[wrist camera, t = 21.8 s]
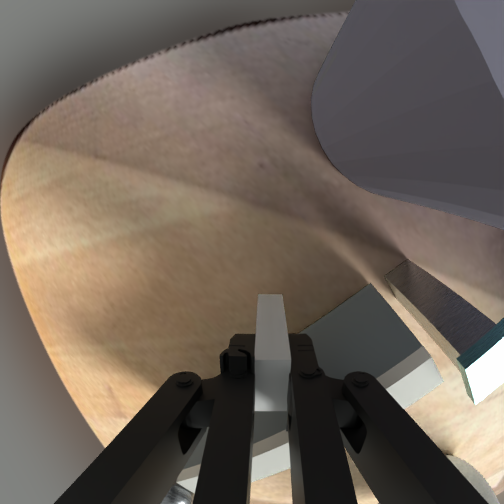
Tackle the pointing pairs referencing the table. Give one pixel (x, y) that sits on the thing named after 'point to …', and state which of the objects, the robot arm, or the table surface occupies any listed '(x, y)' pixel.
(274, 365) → the robot arm
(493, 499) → the mug
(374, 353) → the grey flat board
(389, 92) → the container
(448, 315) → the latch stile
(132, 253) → the table surface
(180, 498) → the hinge post
